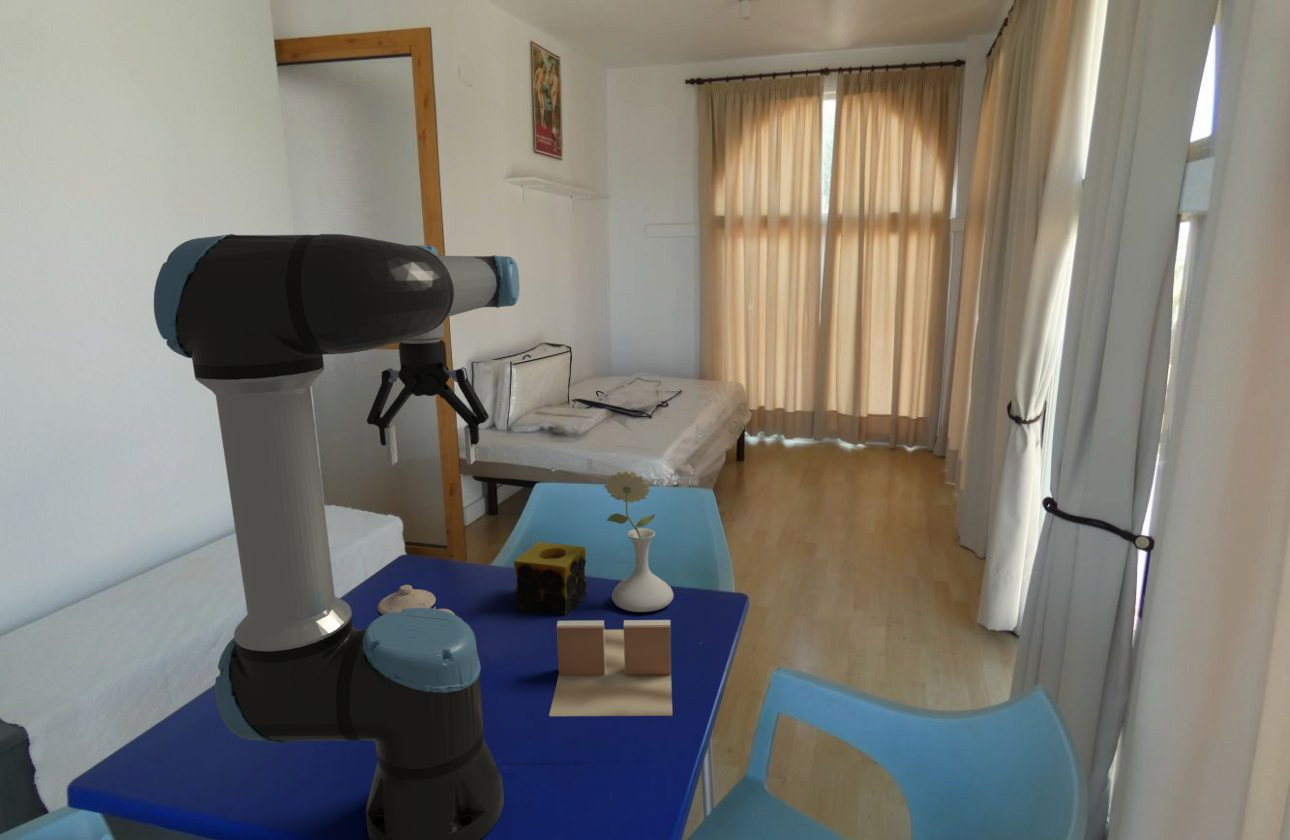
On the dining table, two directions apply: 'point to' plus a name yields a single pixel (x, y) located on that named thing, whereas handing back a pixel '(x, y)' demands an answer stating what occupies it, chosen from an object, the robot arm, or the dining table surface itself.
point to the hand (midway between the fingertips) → (431, 463)
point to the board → (613, 689)
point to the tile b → (647, 647)
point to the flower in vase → (637, 551)
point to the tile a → (581, 647)
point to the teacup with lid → (407, 600)
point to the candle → (550, 578)
